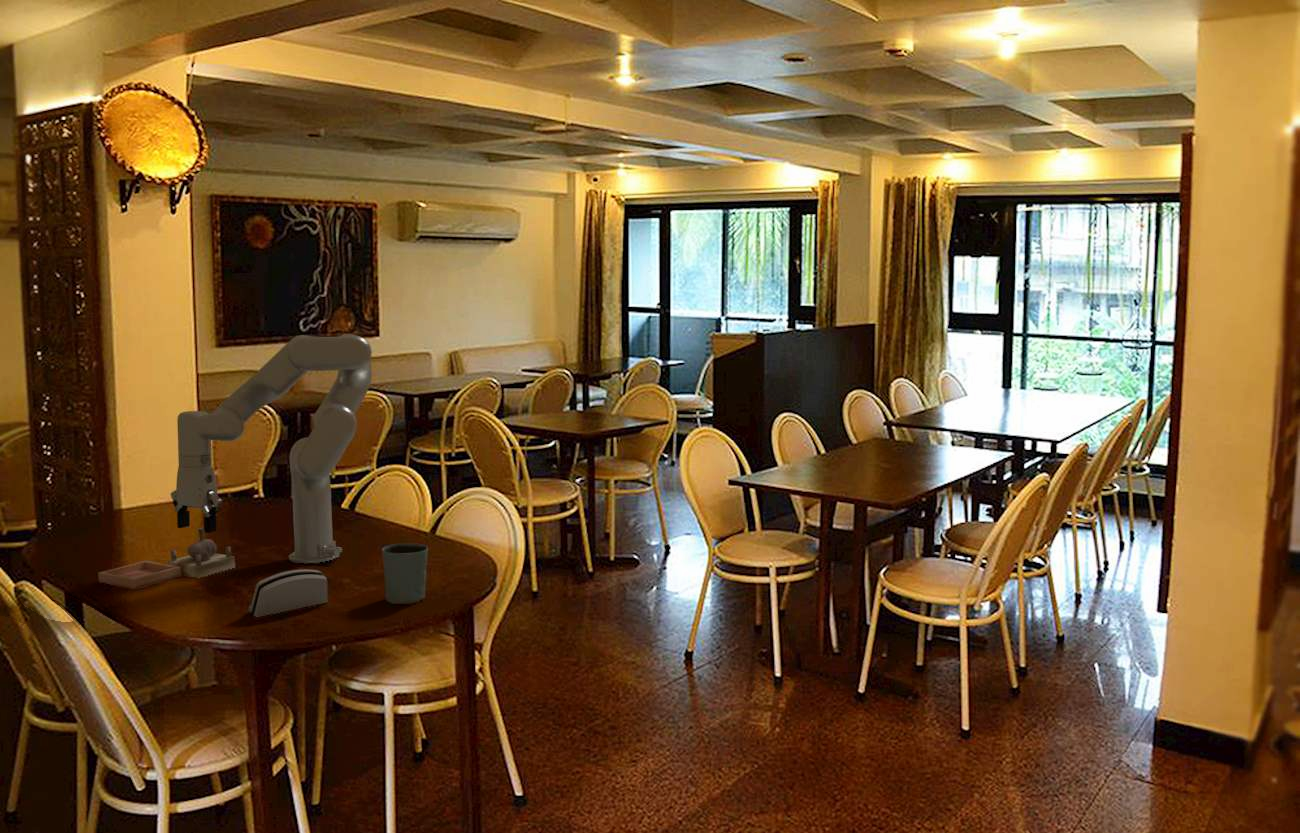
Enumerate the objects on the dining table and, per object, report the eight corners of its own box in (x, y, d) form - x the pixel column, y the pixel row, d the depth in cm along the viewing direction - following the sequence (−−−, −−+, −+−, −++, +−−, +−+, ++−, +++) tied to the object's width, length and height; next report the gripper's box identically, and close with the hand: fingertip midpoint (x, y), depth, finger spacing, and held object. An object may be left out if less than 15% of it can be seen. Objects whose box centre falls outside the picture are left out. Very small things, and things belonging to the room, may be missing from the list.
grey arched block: (318, 598, 254) (323, 560, 250) (327, 609, 251) (332, 571, 247) (246, 613, 243) (250, 574, 239) (254, 624, 240) (259, 585, 236)
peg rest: (235, 568, 280) (234, 546, 280) (198, 578, 271) (197, 556, 270) (205, 562, 286) (204, 541, 285) (168, 572, 276) (167, 551, 275)
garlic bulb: (206, 563, 273) (205, 531, 272) (179, 561, 275) (178, 530, 274) (224, 555, 281) (222, 524, 280) (197, 554, 282) (195, 523, 281)
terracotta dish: (181, 577, 272) (180, 567, 272) (134, 590, 261) (133, 579, 261) (146, 570, 278) (145, 560, 278) (98, 583, 267) (98, 572, 267)
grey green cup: (375, 599, 253) (373, 547, 251) (413, 590, 260) (411, 540, 258) (399, 608, 246) (397, 555, 244) (438, 599, 253) (436, 547, 251)
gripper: (231, 462, 274) (233, 531, 276) (184, 456, 282) (186, 522, 284) (206, 466, 267) (208, 536, 269) (158, 460, 275) (160, 528, 277)
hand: (196, 529), depth 276 cm, fingers open, 9 cm apart
